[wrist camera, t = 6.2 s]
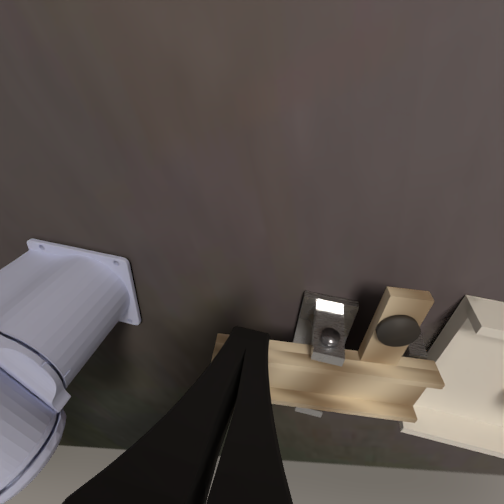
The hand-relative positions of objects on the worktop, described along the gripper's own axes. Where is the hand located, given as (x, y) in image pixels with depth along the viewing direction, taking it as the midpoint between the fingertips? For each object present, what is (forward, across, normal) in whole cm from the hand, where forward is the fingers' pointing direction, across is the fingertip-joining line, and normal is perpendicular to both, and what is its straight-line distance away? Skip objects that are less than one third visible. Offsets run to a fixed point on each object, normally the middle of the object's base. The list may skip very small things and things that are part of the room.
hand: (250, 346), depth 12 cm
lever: (+7, -4, +7) cm, 11 cm away
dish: (+10, -18, +10) cm, 23 cm away
